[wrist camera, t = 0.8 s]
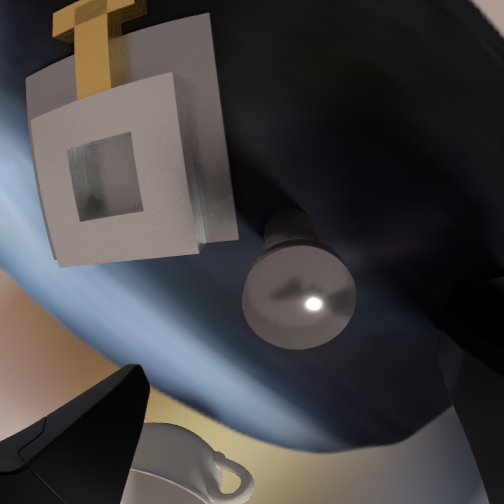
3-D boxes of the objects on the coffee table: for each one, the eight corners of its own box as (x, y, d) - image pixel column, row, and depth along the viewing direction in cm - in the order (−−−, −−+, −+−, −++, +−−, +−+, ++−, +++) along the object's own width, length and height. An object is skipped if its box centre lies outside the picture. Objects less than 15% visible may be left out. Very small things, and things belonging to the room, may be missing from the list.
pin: (319, 195, 19) (356, 242, 10) (323, 259, 20) (354, 343, 11) (252, 202, 19) (234, 254, 11) (260, 265, 20) (249, 353, 12)
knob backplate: (206, -24, 14) (197, -42, 12) (239, 236, 20) (235, 249, 17) (30, 42, 16) (10, 36, 13) (58, 257, 21) (39, 269, 19)
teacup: (143, 463, 30) (124, 516, 22) (107, 400, 26) (73, 461, 19) (264, 470, 28) (261, 533, 21) (252, 407, 25) (245, 486, 17)
